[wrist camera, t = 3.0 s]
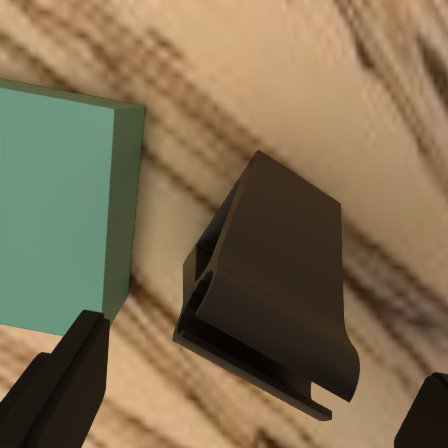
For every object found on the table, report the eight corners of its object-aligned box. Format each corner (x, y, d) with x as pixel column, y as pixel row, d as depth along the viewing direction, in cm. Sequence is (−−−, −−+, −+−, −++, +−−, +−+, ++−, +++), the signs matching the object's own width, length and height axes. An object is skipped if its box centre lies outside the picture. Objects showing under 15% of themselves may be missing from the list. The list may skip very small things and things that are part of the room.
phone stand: (258, 148, 21) (270, 211, 10) (339, 202, 22) (439, 318, 10) (183, 262, 24) (124, 413, 12) (257, 305, 24) (264, 484, 13)
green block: (145, 106, 20) (114, 109, 16) (127, 296, 25) (99, 343, 20) (-59, 67, 20) (-151, 59, 16) (-39, 265, 25) (-106, 304, 20)
